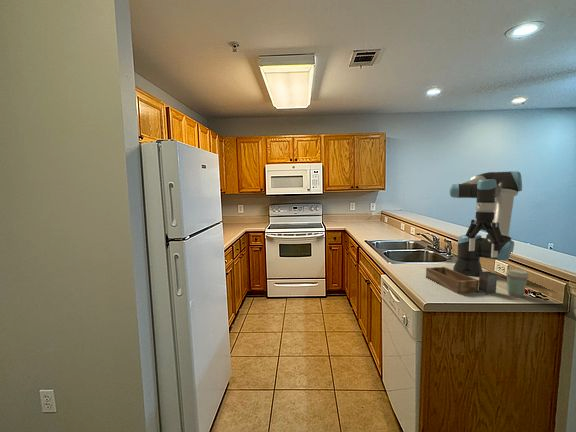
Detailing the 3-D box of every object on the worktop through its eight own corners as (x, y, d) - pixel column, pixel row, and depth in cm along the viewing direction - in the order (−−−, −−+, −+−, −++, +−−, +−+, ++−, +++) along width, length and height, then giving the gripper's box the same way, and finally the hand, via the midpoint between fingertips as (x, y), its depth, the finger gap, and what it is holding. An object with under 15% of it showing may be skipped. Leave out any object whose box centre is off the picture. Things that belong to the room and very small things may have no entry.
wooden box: (443, 276, 164) (443, 266, 164) (478, 292, 140) (478, 280, 140) (425, 278, 162) (426, 267, 162) (457, 293, 139) (458, 281, 138)
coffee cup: (527, 300, 130) (529, 274, 129) (503, 295, 136) (505, 271, 134) (527, 294, 137) (529, 270, 135) (505, 290, 142) (506, 267, 141)
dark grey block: (487, 289, 143) (488, 271, 142) (495, 293, 138) (497, 274, 137) (478, 290, 142) (479, 271, 141) (486, 294, 137) (488, 274, 136)
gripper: (459, 209, 149) (457, 248, 151) (500, 213, 124) (497, 260, 126) (472, 209, 150) (469, 248, 152) (515, 213, 125) (512, 259, 127)
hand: (482, 253), depth 139 cm, fingers open, 13 cm apart
